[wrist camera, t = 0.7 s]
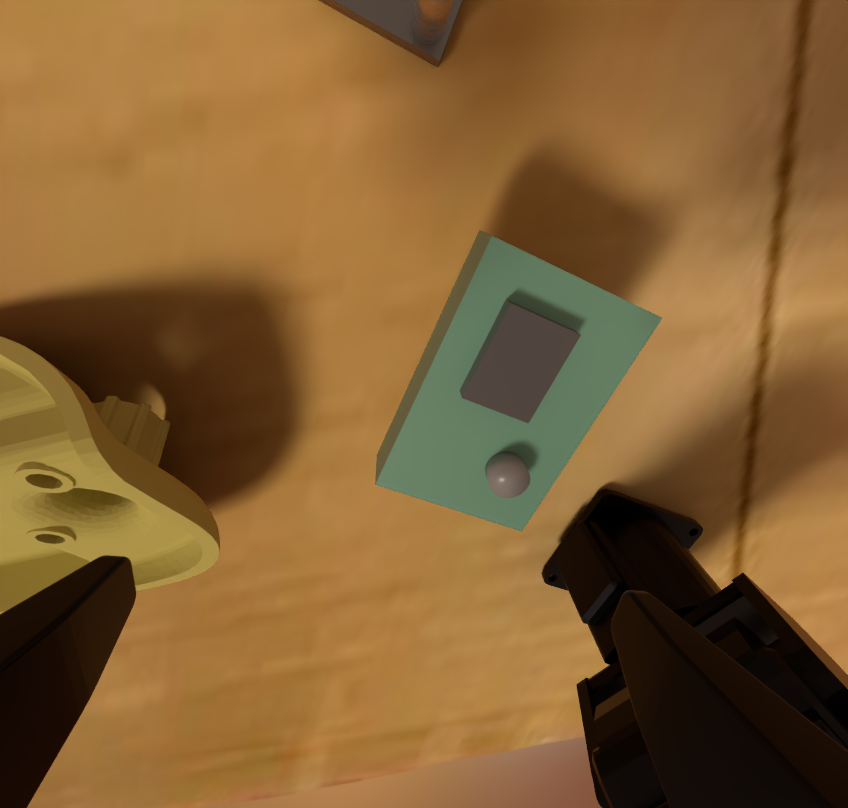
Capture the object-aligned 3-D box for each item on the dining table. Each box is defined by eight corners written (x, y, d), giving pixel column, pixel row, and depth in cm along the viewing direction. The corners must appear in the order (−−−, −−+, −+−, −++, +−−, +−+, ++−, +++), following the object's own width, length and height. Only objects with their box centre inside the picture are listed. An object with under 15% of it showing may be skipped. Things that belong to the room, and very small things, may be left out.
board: (630, 303, 16) (677, 324, 13) (509, 499, 19) (527, 546, 16) (479, 230, 14) (498, 237, 12) (377, 454, 18) (374, 498, 15)
